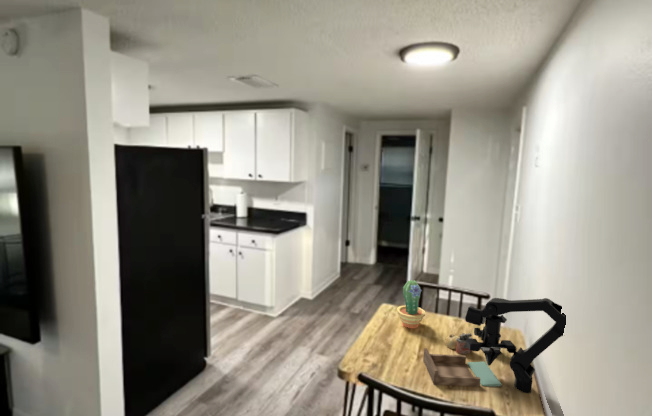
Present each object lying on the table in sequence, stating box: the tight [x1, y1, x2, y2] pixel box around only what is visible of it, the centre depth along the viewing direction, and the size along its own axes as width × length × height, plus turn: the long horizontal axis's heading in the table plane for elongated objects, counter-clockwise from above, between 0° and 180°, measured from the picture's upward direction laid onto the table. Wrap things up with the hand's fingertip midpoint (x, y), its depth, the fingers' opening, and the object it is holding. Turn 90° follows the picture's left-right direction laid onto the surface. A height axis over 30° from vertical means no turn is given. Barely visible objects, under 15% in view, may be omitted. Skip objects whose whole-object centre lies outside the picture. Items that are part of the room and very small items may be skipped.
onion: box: [444, 333, 460, 351], centre depth 173 cm, size 8×8×7 cm
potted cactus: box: [396, 279, 426, 329], centre depth 196 cm, size 15×15×25 cm
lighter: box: [455, 332, 474, 355], centre depth 167 cm, size 8×3×10 cm, turn 105°
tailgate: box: [466, 361, 502, 387], centre depth 150 cm, size 1×16×8 cm
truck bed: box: [423, 347, 481, 388], centre depth 150 cm, size 18×17×7 cm
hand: (488, 364), depth 149 cm, fingers closed
